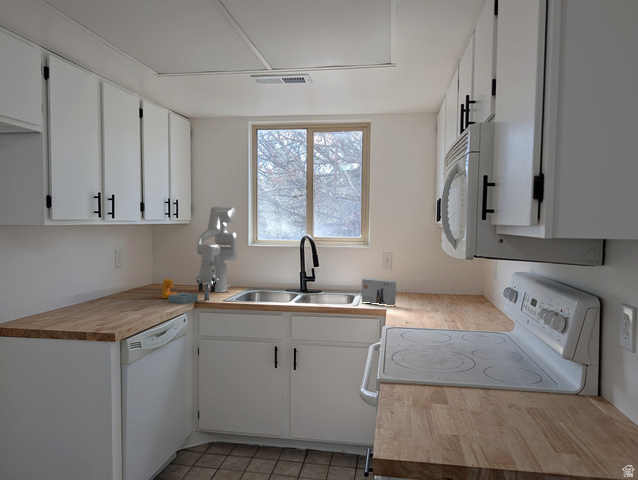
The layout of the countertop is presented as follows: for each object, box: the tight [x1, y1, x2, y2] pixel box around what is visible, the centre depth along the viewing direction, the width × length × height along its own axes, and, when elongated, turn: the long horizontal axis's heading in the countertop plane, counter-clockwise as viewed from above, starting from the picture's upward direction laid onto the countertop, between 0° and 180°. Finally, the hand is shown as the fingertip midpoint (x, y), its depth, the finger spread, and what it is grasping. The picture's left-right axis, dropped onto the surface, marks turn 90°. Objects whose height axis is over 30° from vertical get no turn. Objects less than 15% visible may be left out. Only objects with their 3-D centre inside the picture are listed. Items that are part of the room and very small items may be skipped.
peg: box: [203, 283, 211, 301], centre depth 267 cm, size 3×3×10 cm
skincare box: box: [361, 277, 397, 305], centre depth 267 cm, size 21×5×16 cm, turn 62°
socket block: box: [168, 292, 199, 305], centre depth 261 cm, size 12×12×4 cm
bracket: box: [161, 278, 178, 299], centre depth 272 cm, size 11×7×12 cm, turn 5°
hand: (206, 291), depth 267 cm, fingers open, 9 cm apart
